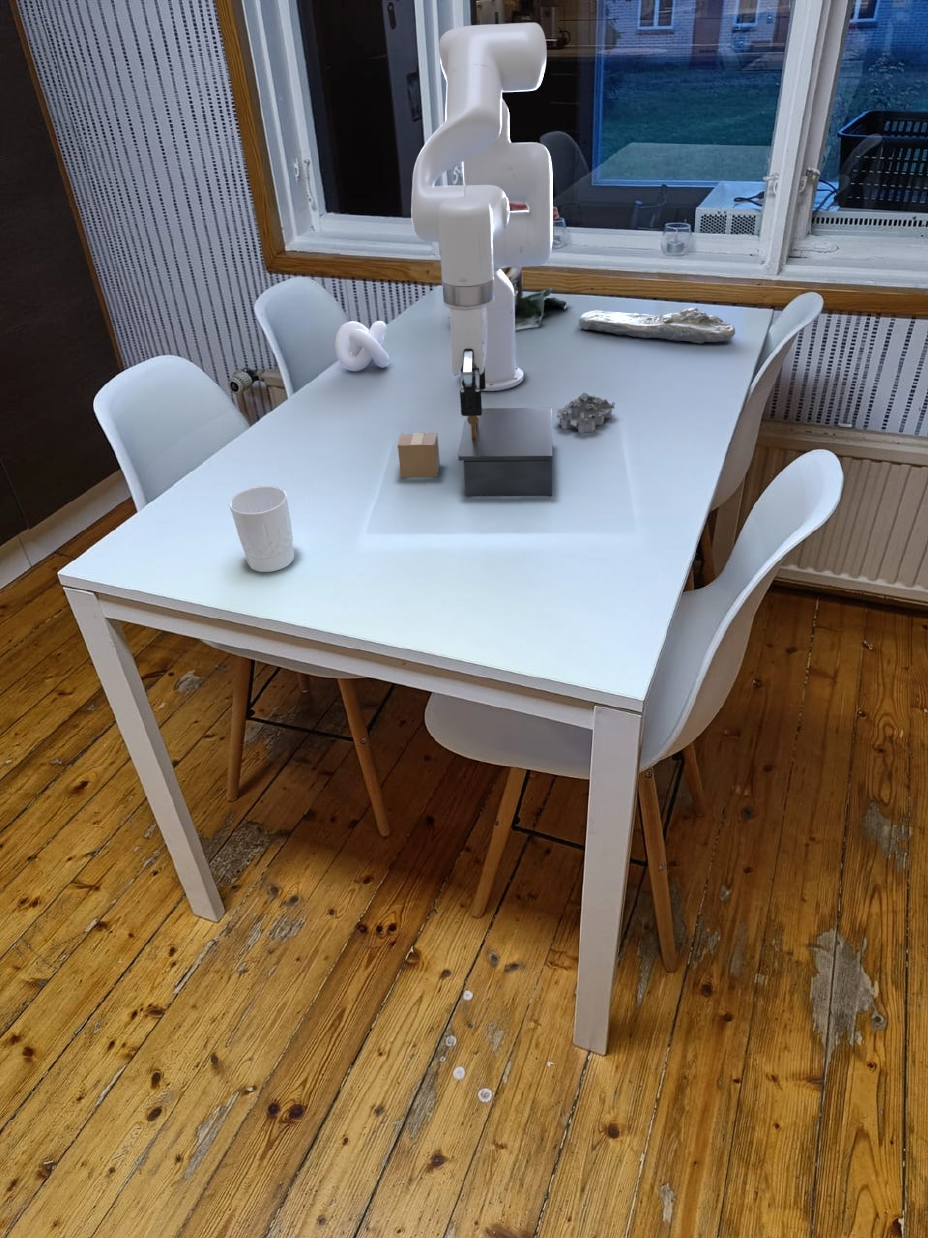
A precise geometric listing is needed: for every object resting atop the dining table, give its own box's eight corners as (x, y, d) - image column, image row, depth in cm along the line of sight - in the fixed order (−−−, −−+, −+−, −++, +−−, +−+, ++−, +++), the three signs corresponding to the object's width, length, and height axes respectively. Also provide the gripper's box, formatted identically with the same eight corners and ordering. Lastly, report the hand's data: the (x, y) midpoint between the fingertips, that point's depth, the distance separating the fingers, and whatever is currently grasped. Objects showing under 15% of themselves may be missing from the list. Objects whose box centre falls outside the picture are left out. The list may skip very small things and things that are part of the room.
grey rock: (587, 439, 151) (588, 418, 149) (552, 430, 155) (552, 408, 153) (618, 417, 158) (619, 396, 155) (583, 409, 162) (584, 388, 159)
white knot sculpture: (359, 352, 192) (354, 312, 187) (406, 358, 188) (402, 317, 182) (332, 370, 184) (325, 328, 179) (380, 377, 180) (375, 334, 174)
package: (401, 481, 142) (397, 444, 138) (404, 468, 146) (401, 432, 142) (437, 481, 142) (434, 444, 138) (439, 468, 145) (437, 432, 141)
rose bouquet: (465, 296, 221) (458, 166, 203) (574, 304, 212) (577, 168, 194) (423, 328, 203) (412, 189, 185) (541, 339, 193) (541, 193, 175)
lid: (458, 461, 132) (456, 430, 129) (466, 412, 146) (465, 384, 143) (552, 460, 131) (552, 429, 128) (551, 411, 145) (552, 383, 142)
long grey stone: (587, 324, 203) (573, 340, 196) (587, 301, 200) (572, 317, 193) (739, 331, 189) (729, 348, 182) (741, 307, 186) (730, 324, 179)
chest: (465, 500, 136) (463, 461, 132) (473, 449, 150) (471, 413, 146) (551, 500, 135) (552, 460, 131) (551, 448, 149) (551, 412, 145)
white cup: (247, 547, 128) (233, 488, 122) (300, 543, 128) (288, 483, 122) (241, 577, 122) (225, 516, 116) (296, 572, 122) (284, 511, 116)
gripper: (448, 274, 132) (454, 380, 143) (437, 312, 119) (445, 426, 129) (496, 272, 132) (499, 379, 142) (491, 310, 118) (494, 425, 129)
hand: (473, 401), depth 136 cm, fingers open, 9 cm apart
